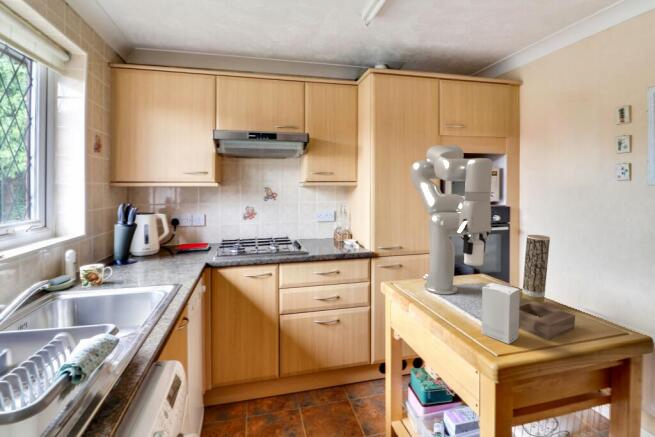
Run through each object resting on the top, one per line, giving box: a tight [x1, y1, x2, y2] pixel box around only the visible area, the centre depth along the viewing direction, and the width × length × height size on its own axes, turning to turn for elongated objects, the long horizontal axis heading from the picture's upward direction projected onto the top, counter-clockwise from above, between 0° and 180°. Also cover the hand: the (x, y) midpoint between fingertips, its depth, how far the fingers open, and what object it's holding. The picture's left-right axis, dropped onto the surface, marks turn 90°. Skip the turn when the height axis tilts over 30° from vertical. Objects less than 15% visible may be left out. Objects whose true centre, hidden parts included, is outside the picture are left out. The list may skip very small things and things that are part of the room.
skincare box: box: [481, 282, 521, 345], centre depth 93 cm, size 8×6×15 cm
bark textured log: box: [521, 234, 551, 305], centre depth 115 cm, size 7×7×25 cm
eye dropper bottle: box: [463, 233, 485, 267], centre depth 106 cm, size 4×6×12 cm
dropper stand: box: [519, 297, 576, 341], centre depth 102 cm, size 16×14×4 cm
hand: (474, 252), depth 106 cm, fingers closed on eye dropper bottle, 5 cm apart
